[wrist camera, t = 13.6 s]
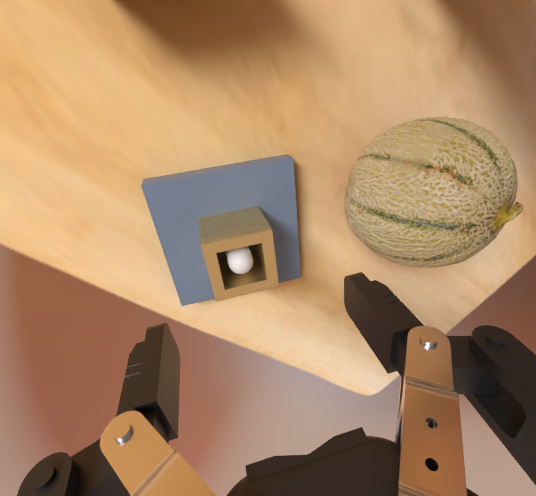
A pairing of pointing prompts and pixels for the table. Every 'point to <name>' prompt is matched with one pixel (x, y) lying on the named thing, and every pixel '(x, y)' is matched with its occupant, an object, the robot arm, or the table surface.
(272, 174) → the post stand
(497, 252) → the table surface
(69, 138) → the table surface
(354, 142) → the table surface
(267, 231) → the brass collar
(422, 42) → the table surface
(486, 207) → the cantaloupe
